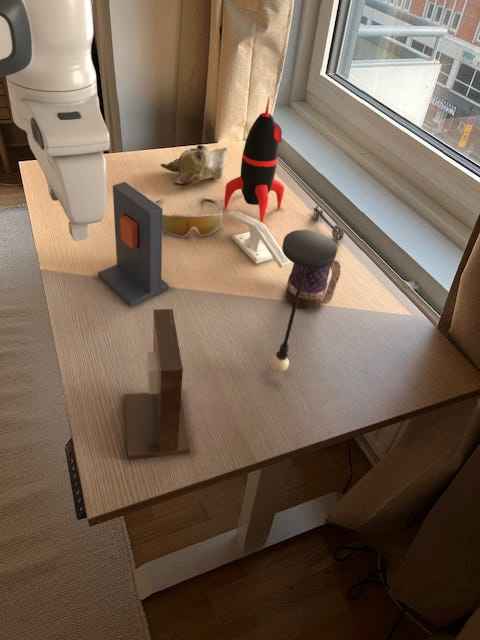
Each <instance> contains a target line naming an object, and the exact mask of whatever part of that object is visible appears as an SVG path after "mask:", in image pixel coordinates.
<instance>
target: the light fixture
mask: <svg viewBox="0 0 480 640" xmlns="http://www.w3.org/2000/svg"><path fill="white" fill-rule="evenodd" d="M281 250H282V251H283V253H284V255H285V256H286V257H287V258H288V260H289V261H290V262H292V263H293V264H294V263H295V264H297V265H300V266H303V268H302V272H301V276H300V280H299V284H298V288H297V292H296V296H295V300H294V304H292V308H291V313H290V316H289V320H288V324H287V329H286V331H285V336H284V340H283V342H282V343H281V344H280V345H279V350H278V351H277V352H276V353H275V355H274V356H273V357H272V358H271V367H272V369H273V370H274V371H275V372H279V373H282V372H285V371H286V370H288V368H289V366H290V360H289V354H288V352H289V347H290V346H289V344H288V343H289V338H290V334H291V330H292V326H293V322H294V318H295V315H296V311H297V308H298V307H297V303H298V299H299V296H300V292H301V288H302V284H303V280H304V276H305V272H306V268H307V267H308V268H322V267H326V266H328V265H330V264H331V263H333V261H334V260H336V257H337V253H338V248H337V245H336V243H335V241H334V240H332V239H331V238H330V237H329V236H327V235H325V234H323V233H321V232H318V231H315V230H311V229H310V230H309V229H297V230H293V231H291V232H288V233H287V234H286V235H285V236H284V237H283V241H282V246H281Z"/></svg>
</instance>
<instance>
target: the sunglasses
mask: <svg viewBox="0 0 480 640" xmlns="http://www.w3.org/2000/svg"><path fill="white" fill-rule="evenodd" d="M202 201H203V202H207V203H211V204H214V205H215V206H216V208H218V210H219V212H217V213H205V214H174V213H173V214H165V213H162V232H165V233H166V234H168V235H172V236H175V237H179V238H186V237H187V236H188V235H189V234H190V232H191V231H192V230H195V231H196V233H197V236H199V237H205V236H208V235H212V234H213V233H215V232H216V231H218V229H220V226H221V224H222V219H223V209H222V207H221V205H220V204H219V203H218V202H217V201H216V200H214V199H211V198H202ZM153 202H154V203H155V204H158V203H161V199H160V198H159V199H155V200H154V201H153Z"/></svg>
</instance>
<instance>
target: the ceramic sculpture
mask: <svg viewBox="0 0 480 640" xmlns="http://www.w3.org/2000/svg"><path fill="white" fill-rule="evenodd" d="M228 152H229V150H228V148H227V147H223V148H215V149H213V150H210V149H209V148H208V147H207V146H205V145H203V144H202V145H201V144H198V145H197V146H196V148H190V149H186V150H184V151H183V152H182V153H181V154H180V156H179V158H176V159H174V160H173V161H170V162H169V163H161V164H160V167H161V168H163V169H165V170H167V171H170V172H172V173H179V174H180V175H179V176H178V177H177V179H176V180H175V182H173V183H172V184H173V185H174V186H177V187H178V186H179V187H186V188H187V187H191V186H192V185H194V184H195V183H197V182H201V181H204V180H208V179H212V178H213V179H215V180H217V181H220V180H221V179H222V178H223V175H224V169H225V167H226V165H227V160H228Z"/></svg>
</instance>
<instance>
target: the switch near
mask: <svg viewBox="0 0 480 640" xmlns="http://www.w3.org/2000/svg"><path fill="white" fill-rule="evenodd" d="M146 380H147V390H148V392H147V393H149V394H158V365H157V356H156V351H153V350H152V351H147V352H146Z"/></svg>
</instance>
